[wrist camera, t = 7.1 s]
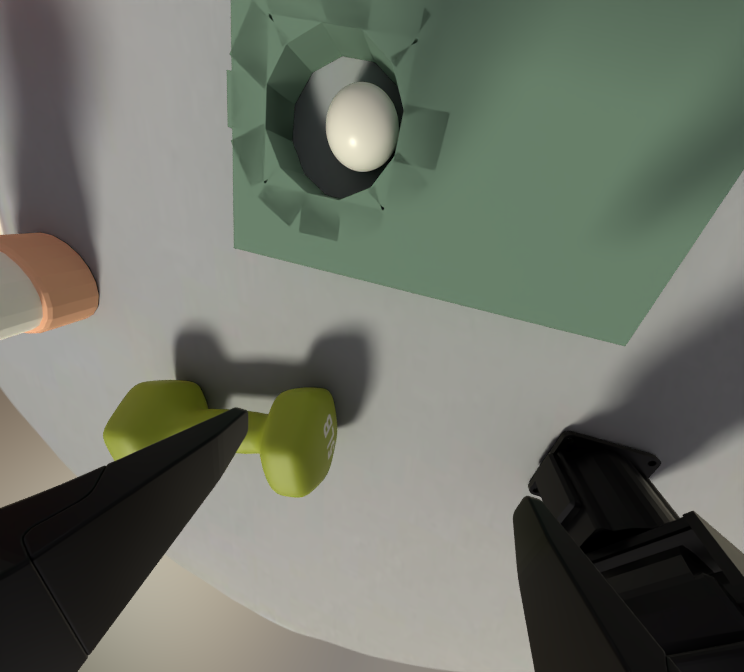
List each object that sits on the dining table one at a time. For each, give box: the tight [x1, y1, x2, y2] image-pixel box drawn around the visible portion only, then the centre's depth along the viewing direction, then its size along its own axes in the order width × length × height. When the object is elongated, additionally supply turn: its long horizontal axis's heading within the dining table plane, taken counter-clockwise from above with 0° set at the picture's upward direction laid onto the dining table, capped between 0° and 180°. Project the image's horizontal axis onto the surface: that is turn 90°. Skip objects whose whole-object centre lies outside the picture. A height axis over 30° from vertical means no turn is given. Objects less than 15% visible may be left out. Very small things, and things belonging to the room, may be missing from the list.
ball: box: [326, 82, 399, 172], centre depth 14 cm, size 4×4×4 cm
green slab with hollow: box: [227, 0, 744, 346], centre depth 14 cm, size 22×14×3 cm, turn 79°
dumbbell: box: [103, 380, 337, 497], centre depth 23 cm, size 16×8×7 cm, turn 93°
